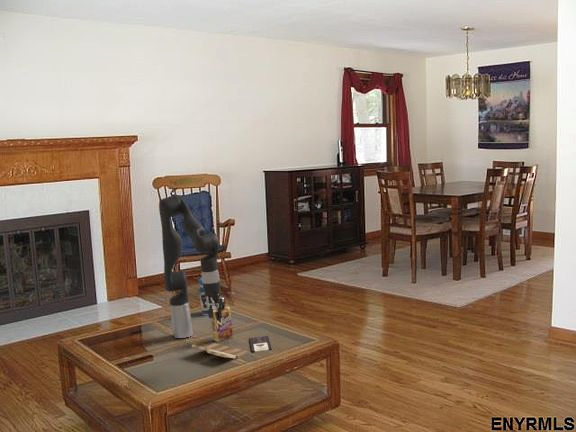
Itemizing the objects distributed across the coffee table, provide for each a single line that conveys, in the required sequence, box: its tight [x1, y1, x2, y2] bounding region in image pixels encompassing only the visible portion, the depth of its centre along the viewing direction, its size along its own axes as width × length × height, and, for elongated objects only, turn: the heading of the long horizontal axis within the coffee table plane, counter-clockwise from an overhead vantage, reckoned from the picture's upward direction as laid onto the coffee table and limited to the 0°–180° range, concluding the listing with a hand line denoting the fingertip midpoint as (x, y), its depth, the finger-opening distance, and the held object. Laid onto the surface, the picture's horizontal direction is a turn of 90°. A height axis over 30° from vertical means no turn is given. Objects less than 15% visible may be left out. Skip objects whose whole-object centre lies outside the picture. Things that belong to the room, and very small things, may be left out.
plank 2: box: [206, 350, 236, 359], centre depth 260 cm, size 10×8×1 cm
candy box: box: [210, 305, 234, 343], centre depth 286 cm, size 9×4×15 cm, turn 123°
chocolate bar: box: [249, 335, 272, 353], centre depth 275 cm, size 9×1×18 cm
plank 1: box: [191, 344, 217, 352], centre depth 267 cm, size 10×8×1 cm
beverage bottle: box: [198, 277, 215, 316], centre depth 330 cm, size 8×8×20 cm
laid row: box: [204, 342, 248, 360], centre depth 269 cm, size 22×6×1 cm, turn 49°
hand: (215, 318), depth 257 cm, fingers open, 4 cm apart
